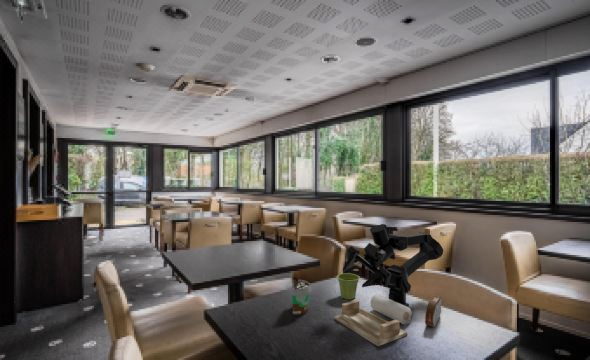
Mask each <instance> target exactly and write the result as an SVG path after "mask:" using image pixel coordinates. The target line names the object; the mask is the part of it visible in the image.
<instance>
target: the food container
mask: <svg viewBox="0 0 590 360" xmlns="http://www.w3.org/2000/svg"><path fill="white" fill-rule="evenodd" d="M311 292H312V287H311V283H310V282H309V281H307V280H303V279H297V283H296V284H295V287H294V288H293V289H291V296H292V297H291V298H292V299H291V300H292V303H291V304H292V316H294V317H295V316H296V317H297V316H298V317H299V316H304V315H307V313H309V306H310V305H309V304H310V303H309V302H310V293H311Z"/></svg>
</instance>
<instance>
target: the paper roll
mask: <svg viewBox="0 0 590 360" xmlns="http://www.w3.org/2000/svg"><path fill="white" fill-rule="evenodd" d="M370 308H371V309H372V310H374V311H375V312H377V313H380V314H382V315H383V316H385V317H387V318H389V319H391V320H392V321H393V320H398V321H400V324H401V325H407V324H409V322H410V321H411V319H412V315H413V314H412V310H411V308H410V307H409V306H404V305H402V304H400V303H397V302H395V301H393V300H390V299H389V297H386V296H384V295H381V294H379V293H377V294H374V295H373V296H372V297H371V300H370Z"/></svg>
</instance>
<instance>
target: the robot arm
mask: <svg viewBox="0 0 590 360" xmlns="http://www.w3.org/2000/svg"><path fill="white" fill-rule="evenodd" d="M369 231H370V234H371V237H372V240H373V243H374V244H375V245H377V246H375V245H374V244H372V243H371V242H369V243H367V244H366V245H365V247H364V248H363V251H364V253H363V256H361V255H360V250H358V249H357V247H354V246H352V245H350V246H348V247H347V248H346V258H347V261H346V263H345V264H344V266H343V268H342V272H343V273H345V272H346V271H348V270H349V269H350V268H352V267H354V266H355V264H357V263H361V264H362V265H363V266H364V267H365V268H366V269H367V270H369V271H371V272H372V273H373V275H372V276H370V278H368V279H367V280H365V281H364V282H363V283H362V284H361V287H362V288H366V287H367V288H368V287H372V286H374V287H375V286H379V287H384V288H388V292H389V293H388V299H390V300H393V301H395V302H397V303H400V304H402V305H404V306H407V307H409V306H410V304H409V303H408V302H407V294H408V293H409V292H410V291H411V288H412V285H411V284H410V283H409V277H410V276H411V275H412V274H414V272H416V271H417V270H419V269H420V268H421V267H422V266H423V265H425V264H426V263H428V262H429V261H434V260H437V259H440V258H441V257H442V255H444V248H443V247H442V245H441V243H440V242H439V241H438V240H436V239H435V238H433V236H432V235H431V234H430V233H426V232H418V233H411V234H410V233H409V234H403V235H401V234H395V233H394V234H392V233H389V232H388V228H387V224H385V223H381V224H379V225H373V226H371V227H370V228H369ZM414 245H418V247H419V251H418V252H417V253H416V254H414V255H413V256H412V257H411V258H409V259H408V260H406V261H405V262H403V263H402V264H400V265H396V264H391V265H390V266H389V267H388V268H384V267H382V266H383V265H384V263H385V262H386V261H387V260H388V259H391V260H396V252H395V251H399V252H403V251H404V250H406V249H408V247H409V246H414ZM394 250H395V251H394ZM379 267H380V268H379Z"/></svg>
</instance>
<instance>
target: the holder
mask: <svg viewBox="0 0 590 360" xmlns="http://www.w3.org/2000/svg"><path fill="white" fill-rule="evenodd" d="M334 320H335V321H337V322H338V323H340V324H341V325H343V326H345V327H347V329H349V330H351V331H353V332H354V333H356V334H357V335H359V336H361V337H362V338H364V339H365V340H367V341H369V342H370V343H372V344H373V345H376V346H377V347H380V346H382V345H385V344H387V343H388V344H389V343H391V342H393V341H396V340H399V339H400V338H403V337H406V336H408V332H407V331H406V330H404V329H402V328H401V327H400V324H401V323H400V321H398V320H393V319H392V320H390V321H388V320H386V319H384V318H382V317H380V316H378V315H376V314H374V313H373V312H370V311H369V310H367V309H364V308H363V307H360V301H359V300H357V299H355V300H352V301H347V302H345V303H341V313H339V314H338V315H334Z"/></svg>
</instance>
